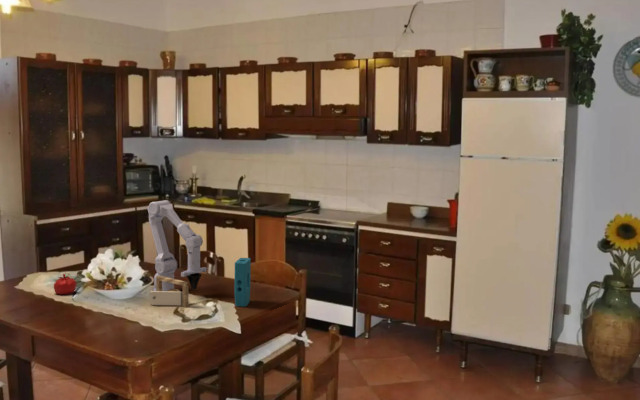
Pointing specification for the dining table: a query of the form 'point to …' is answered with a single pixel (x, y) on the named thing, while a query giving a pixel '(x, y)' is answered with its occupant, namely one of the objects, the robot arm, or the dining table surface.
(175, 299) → the door
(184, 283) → the door frame
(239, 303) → the block
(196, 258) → the robot arm
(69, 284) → the pomegranate
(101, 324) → the dining table surface
